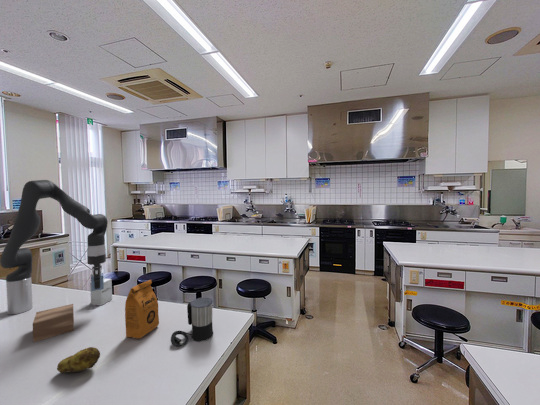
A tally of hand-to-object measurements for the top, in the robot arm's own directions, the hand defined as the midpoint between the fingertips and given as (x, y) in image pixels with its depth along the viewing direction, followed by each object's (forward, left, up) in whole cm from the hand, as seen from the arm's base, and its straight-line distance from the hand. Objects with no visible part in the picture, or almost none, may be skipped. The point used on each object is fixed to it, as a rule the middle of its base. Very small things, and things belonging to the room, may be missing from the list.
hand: (97, 286), depth 120 cm
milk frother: (+48, +34, -15) cm, 61 cm away
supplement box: (-18, +1, -15) cm, 23 cm away
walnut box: (+4, -16, -15) cm, 22 cm away
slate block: (0, 0, -1) cm, 1 cm away
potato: (+44, -4, -15) cm, 47 cm away
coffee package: (+30, +17, -15) cm, 38 cm away
